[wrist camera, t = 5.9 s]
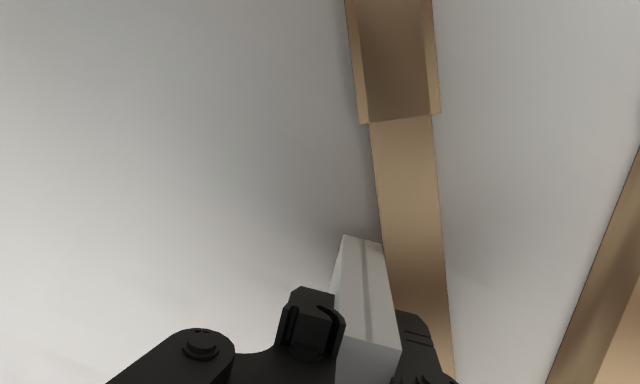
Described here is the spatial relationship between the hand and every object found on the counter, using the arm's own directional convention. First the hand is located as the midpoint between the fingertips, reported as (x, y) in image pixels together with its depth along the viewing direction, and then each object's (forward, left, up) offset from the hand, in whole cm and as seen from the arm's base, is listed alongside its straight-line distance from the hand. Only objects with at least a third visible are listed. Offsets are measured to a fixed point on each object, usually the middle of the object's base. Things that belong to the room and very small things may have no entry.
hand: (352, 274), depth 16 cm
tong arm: (0, +2, -1) cm, 2 cm away
